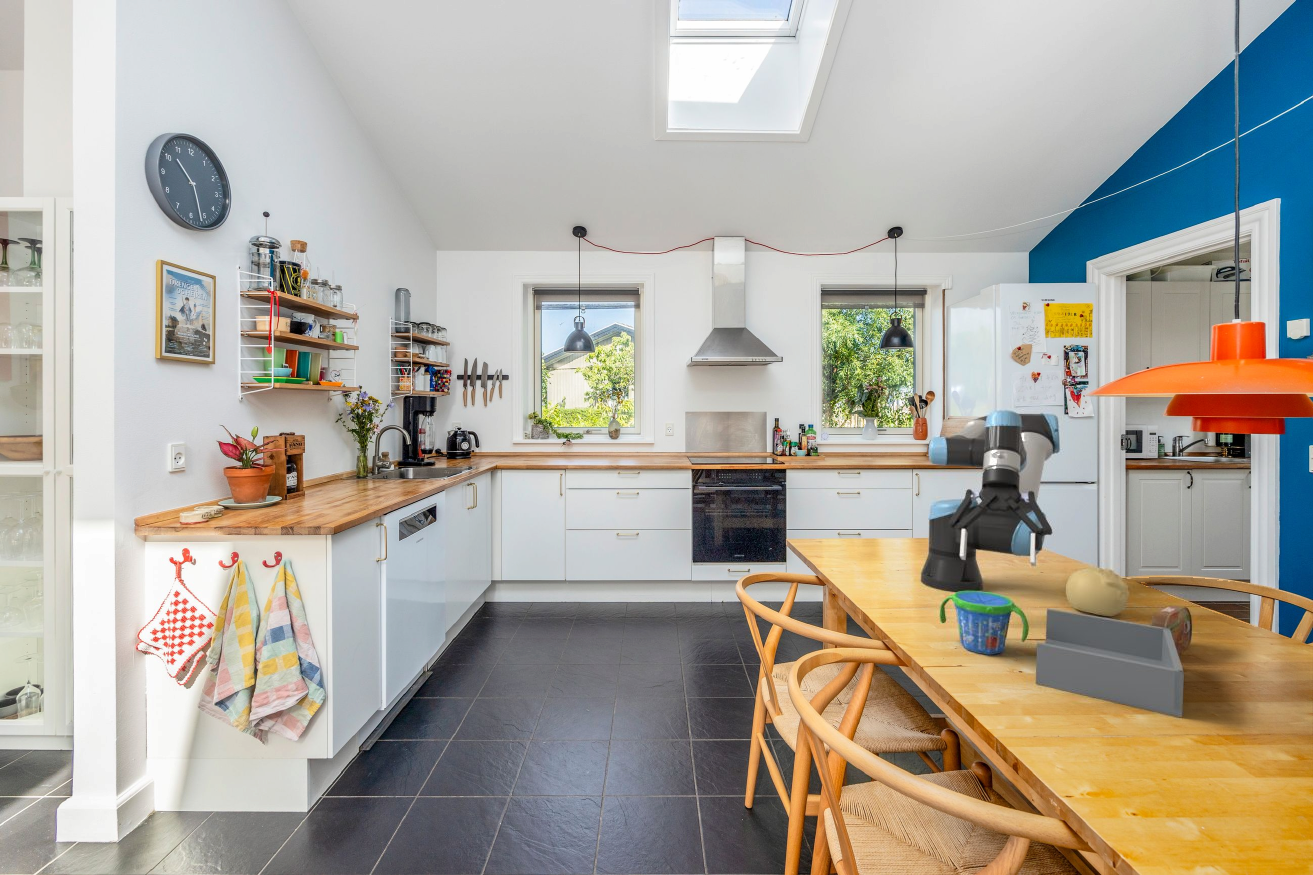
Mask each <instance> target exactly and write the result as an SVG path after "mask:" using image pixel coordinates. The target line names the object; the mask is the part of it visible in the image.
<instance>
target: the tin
mask: <svg viewBox="0 0 1313 875" xmlns="http://www.w3.org/2000/svg"><path fill="white" fill-rule="evenodd" d="M1149 625H1150V626H1156V627H1162V628H1168V629H1170V631H1171V634H1172V638H1173V641H1174V644H1175V647H1176V650H1177V653H1178V655H1180V654H1181V653H1183V652H1184V651H1186V650H1187V649H1189V646H1190V645H1191V641H1192V636H1193V619H1192V615H1191V611H1190V610H1189V608H1188V607H1186V606H1178V605H1168V606H1166V607H1164V608H1162V609H1161V610H1158V611H1156V612H1155V613H1154V614H1153V615H1152V617H1151V620H1150V624H1149Z"/></svg>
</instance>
